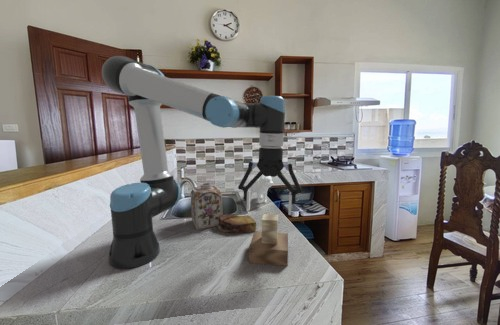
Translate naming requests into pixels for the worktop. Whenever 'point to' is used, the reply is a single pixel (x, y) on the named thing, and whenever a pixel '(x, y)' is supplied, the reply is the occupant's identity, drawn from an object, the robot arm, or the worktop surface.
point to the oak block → (269, 229)
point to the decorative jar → (206, 206)
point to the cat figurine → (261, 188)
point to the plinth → (269, 250)
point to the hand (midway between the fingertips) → (268, 211)
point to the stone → (236, 223)
